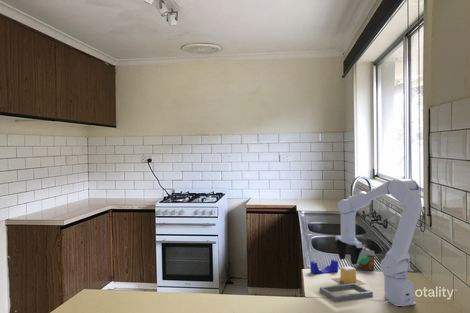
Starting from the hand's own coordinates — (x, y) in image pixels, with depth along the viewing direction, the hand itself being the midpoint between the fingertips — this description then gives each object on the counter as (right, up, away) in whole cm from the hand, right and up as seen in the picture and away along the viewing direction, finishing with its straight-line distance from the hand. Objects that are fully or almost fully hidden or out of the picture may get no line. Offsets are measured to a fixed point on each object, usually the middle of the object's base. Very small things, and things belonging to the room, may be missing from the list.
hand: (348, 261), depth 139 cm
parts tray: (-5, -9, -14) cm, 17 cm away
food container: (+14, -10, +20) cm, 26 cm away
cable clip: (-7, -10, +12) cm, 17 cm away
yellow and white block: (0, -8, 0) cm, 8 cm away
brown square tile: (0, -9, 0) cm, 9 cm away
